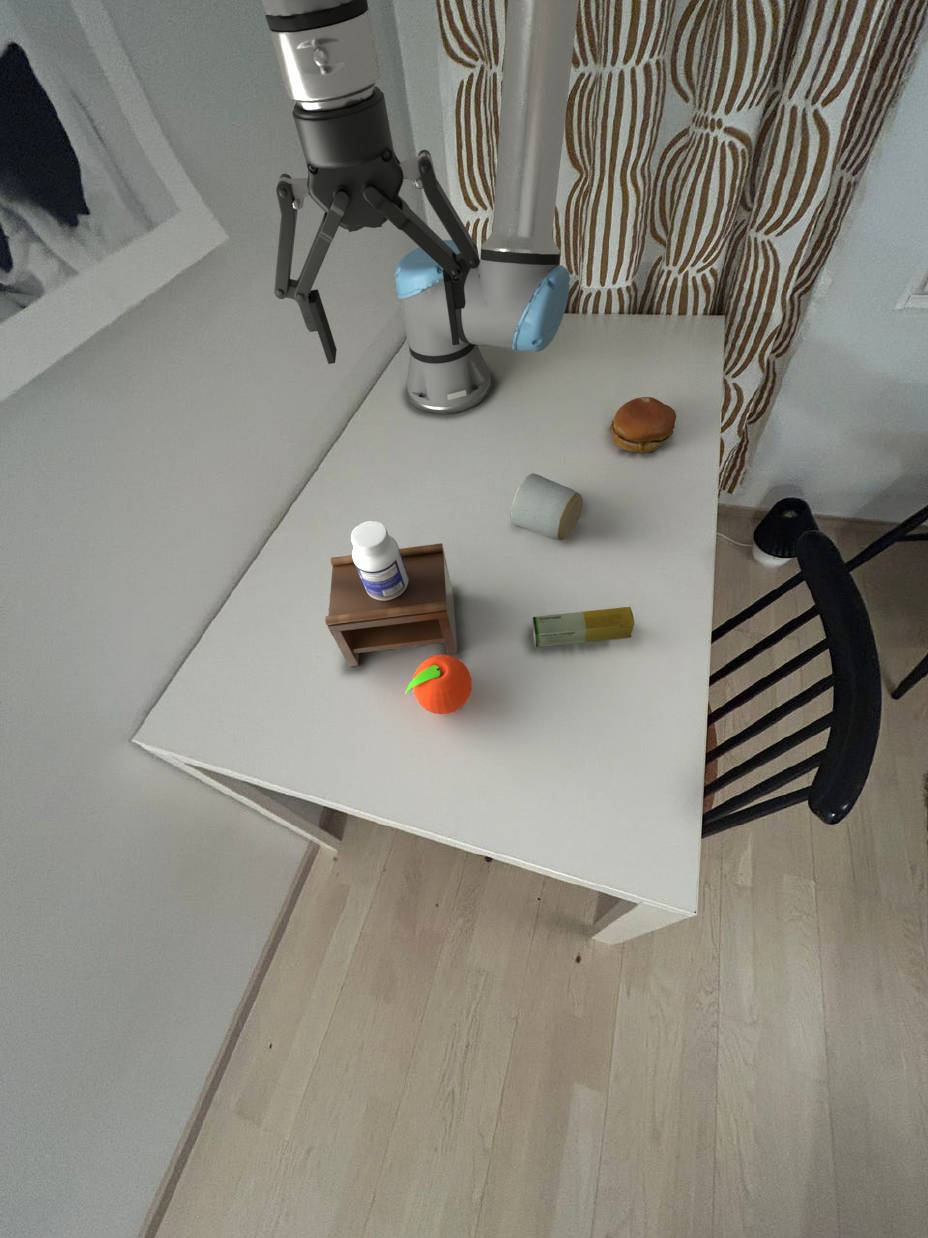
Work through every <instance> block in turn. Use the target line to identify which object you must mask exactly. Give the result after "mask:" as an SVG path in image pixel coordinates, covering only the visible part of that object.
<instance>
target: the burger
mask: <svg viewBox="0 0 928 1238" xmlns="http://www.w3.org/2000/svg"><path fill="white" fill-rule="evenodd" d="M676 421H677V413H676V411H675V409H674V408H672V406H670V405H668V404H665V403H664V402H662V401H660V400H658V399H657V398H655V397H651V396H646V397H645V396H641V397H636V398H633V399H631V400H629V401H626V402H625V403H624V404H622V405H621V406H620V407H619V408H618V409H617V411H616V412H615V415H614V417H613V419H612V420H611V423H610V432H611V436H612V440H613V444H614V445H615V446H617V447H618V448H620V449H622V450H624V451H626V452H630V453H637V454H648V453H652V452H654V451H656V450H657V449H659V448H660V447H662V446H663V445H664V444H665V443H666V442H667V441H668V440H669V439H670V437H671V436H672V435H673V434H674V429H675V428H676Z"/></svg>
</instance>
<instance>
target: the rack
mask: <svg viewBox="0 0 928 1238" xmlns="http://www.w3.org/2000/svg"><path fill="white" fill-rule="evenodd" d="M399 550H400V553H401V556H402V559H403V562H404V565H405V568H406V571H407V575H408V585H407V588H406V589H405V591H404V592H403V593H402V594H401V595H399V596H398V597H396V598H394V599H391V600H386V601H381V600H377V599H374V598H372V597H371V596H370V595H369V594H368V593H367V591H366V589H365V586H364V584H363V582H362V579H361V577H360V575H359V573H358V570H357V568H356V566H355V563H354V561H353V557H352V554H349V555H341V556H335V557H334V556H333V557H330V558H329V559H330V560H329V561H330V565H331V566H332V567H331V568H332V569H331V579H330V592H329V602H328V613H327V616H325V617H324V623H325V625H326V626H327V629H328V631H329V632H330V634H331V635H332V638H333V640H334V641H335V643H336V645H337V646H338V649H339V650H340V652H341V654H342V656H343V658H344V659H345V661H346V663H347V665H348V666H349V667H356V666H359V659H360V653H368V652H377V651H386V650H394V649H402V648H403V649H404V648H411V647H418V646H420V647H421V646H428V645H435V644H444V645H445V649H446V652H447V655H450V656H452V655H457V654H458V645H457V629H456V618H455V617H456V616H455V602H454V591H453V586H452V582H451V581H452V580H451V577H450V573H449V567H448V563H447V559H446V554H445V549H444V546H443V542H442V543H434V544H425V545H418V546H411V547H404V548H403V547H402V548H399Z"/></svg>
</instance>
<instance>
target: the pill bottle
mask: <svg viewBox="0 0 928 1238" xmlns="http://www.w3.org/2000/svg"><path fill="white" fill-rule="evenodd" d="M350 541H351V543H352V546H353V549H352V552H351V555H352V557H353V561H354V563H355V566H356V568H357V570H358V573H359V575H360V577H361V579H362V582H363V584H364V586H365V589H366V591H367V593H368V594H369V595H370V596H371V597H372V598H374V599H377V600H381V601H386V600H391V599H394V598H396V597H398V596H399V595H401V594H402V593H403V592H404V591H405V589H406V588H407V585H408V575H407V571H406V568H405V565H404V562H403V559H402V556H401V553H400V550H399V549H400V547H399V544H398V542H397V540H396V539H395V538H394V537H393V536H392V535H390V534H389V532H388V529H387V527H386V525H384V523H382V522H380V521H376V520H368V521H365V522H361V523H359V524H358V525H357V526H355V528H353V530H352V532H351V535H350Z"/></svg>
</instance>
